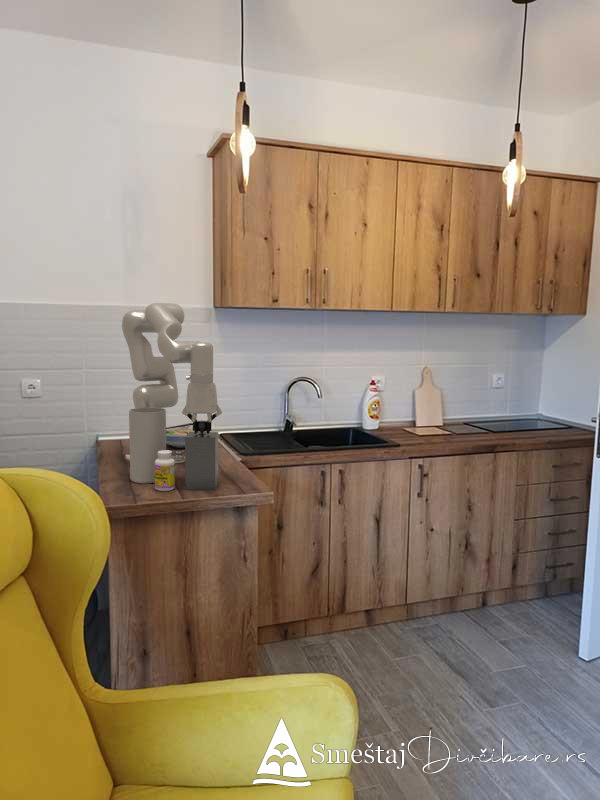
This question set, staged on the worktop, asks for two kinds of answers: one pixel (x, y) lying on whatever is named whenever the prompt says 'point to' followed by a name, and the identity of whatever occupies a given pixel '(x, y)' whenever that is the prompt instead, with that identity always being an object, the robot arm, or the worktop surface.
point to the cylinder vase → (146, 442)
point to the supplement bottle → (164, 471)
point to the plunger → (201, 427)
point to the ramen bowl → (178, 434)
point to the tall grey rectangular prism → (201, 461)
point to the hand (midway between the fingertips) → (202, 432)
